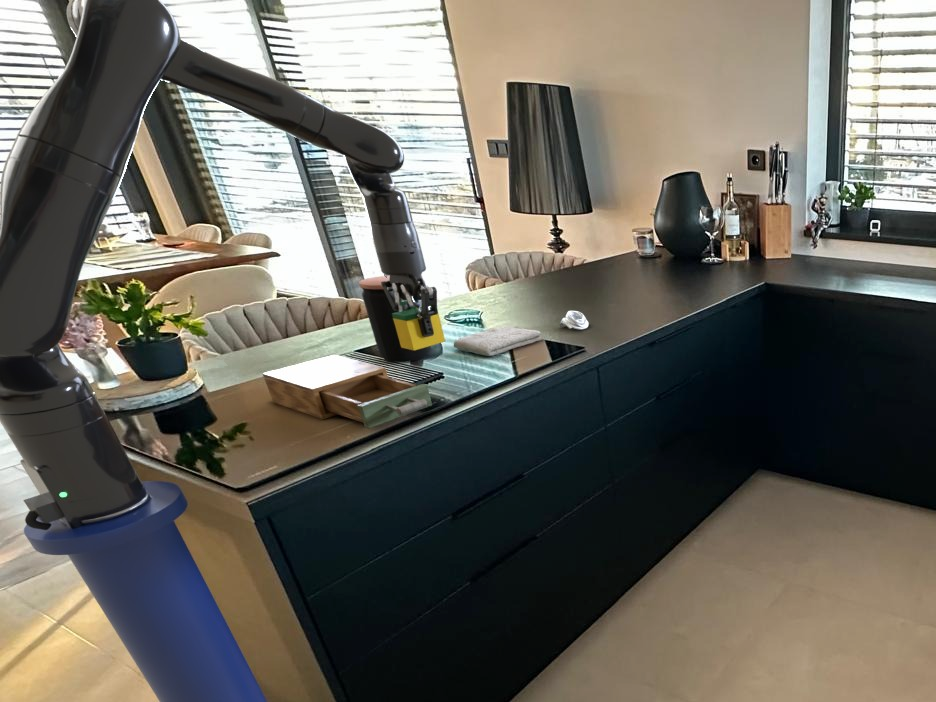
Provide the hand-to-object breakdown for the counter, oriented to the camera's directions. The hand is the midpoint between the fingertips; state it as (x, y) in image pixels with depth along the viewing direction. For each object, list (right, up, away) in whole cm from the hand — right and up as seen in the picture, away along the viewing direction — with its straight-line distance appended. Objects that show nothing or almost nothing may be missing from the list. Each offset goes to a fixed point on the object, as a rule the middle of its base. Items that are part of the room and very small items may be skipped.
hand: (420, 333), depth 127 cm
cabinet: (-16, -13, -2) cm, 21 cm away
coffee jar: (-17, -1, +23) cm, 29 cm away
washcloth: (+1, +3, +32) cm, 32 cm away
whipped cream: (+15, +11, +48) cm, 51 cm away
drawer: (-2, -16, -8) cm, 18 cm away
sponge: (0, -2, +1) cm, 2 cm away
